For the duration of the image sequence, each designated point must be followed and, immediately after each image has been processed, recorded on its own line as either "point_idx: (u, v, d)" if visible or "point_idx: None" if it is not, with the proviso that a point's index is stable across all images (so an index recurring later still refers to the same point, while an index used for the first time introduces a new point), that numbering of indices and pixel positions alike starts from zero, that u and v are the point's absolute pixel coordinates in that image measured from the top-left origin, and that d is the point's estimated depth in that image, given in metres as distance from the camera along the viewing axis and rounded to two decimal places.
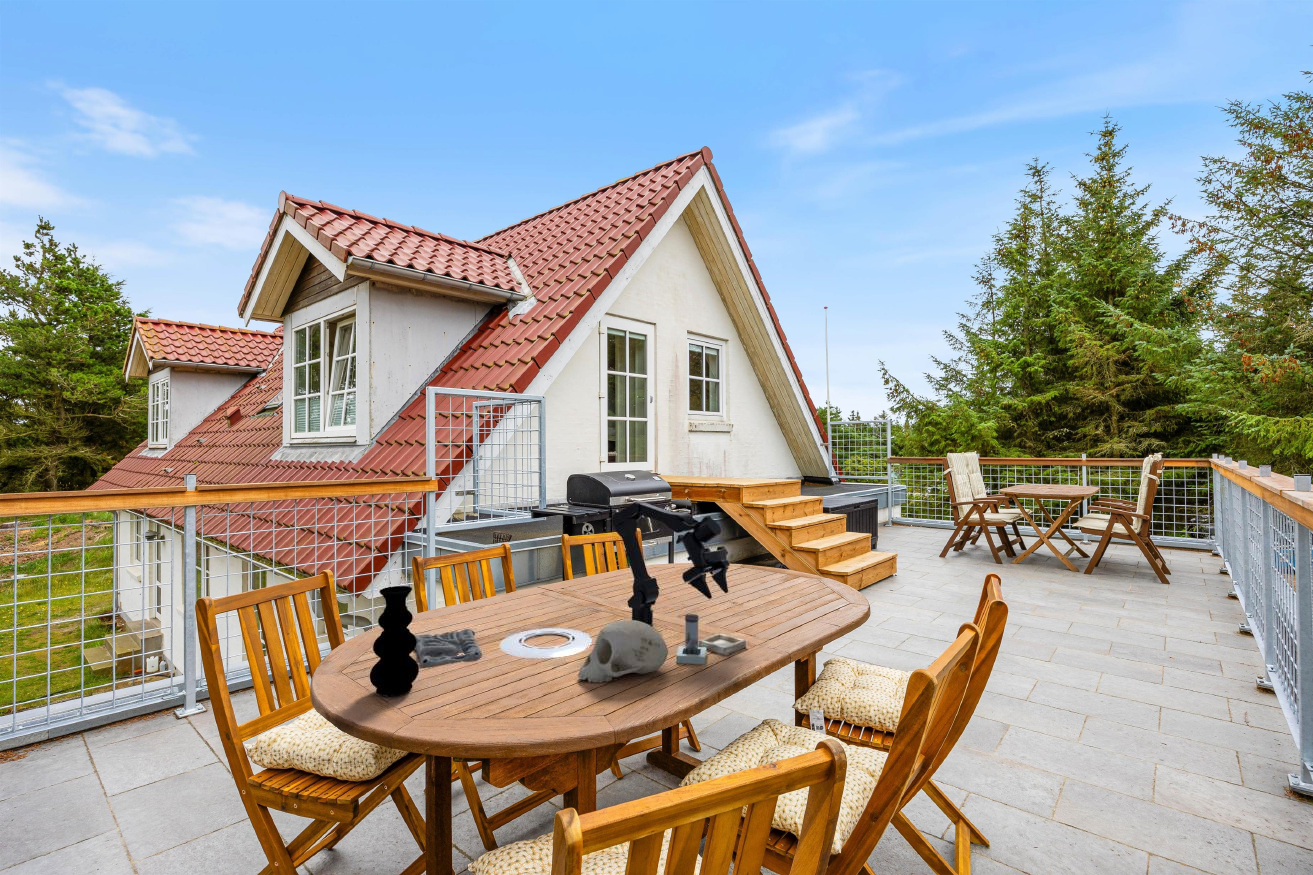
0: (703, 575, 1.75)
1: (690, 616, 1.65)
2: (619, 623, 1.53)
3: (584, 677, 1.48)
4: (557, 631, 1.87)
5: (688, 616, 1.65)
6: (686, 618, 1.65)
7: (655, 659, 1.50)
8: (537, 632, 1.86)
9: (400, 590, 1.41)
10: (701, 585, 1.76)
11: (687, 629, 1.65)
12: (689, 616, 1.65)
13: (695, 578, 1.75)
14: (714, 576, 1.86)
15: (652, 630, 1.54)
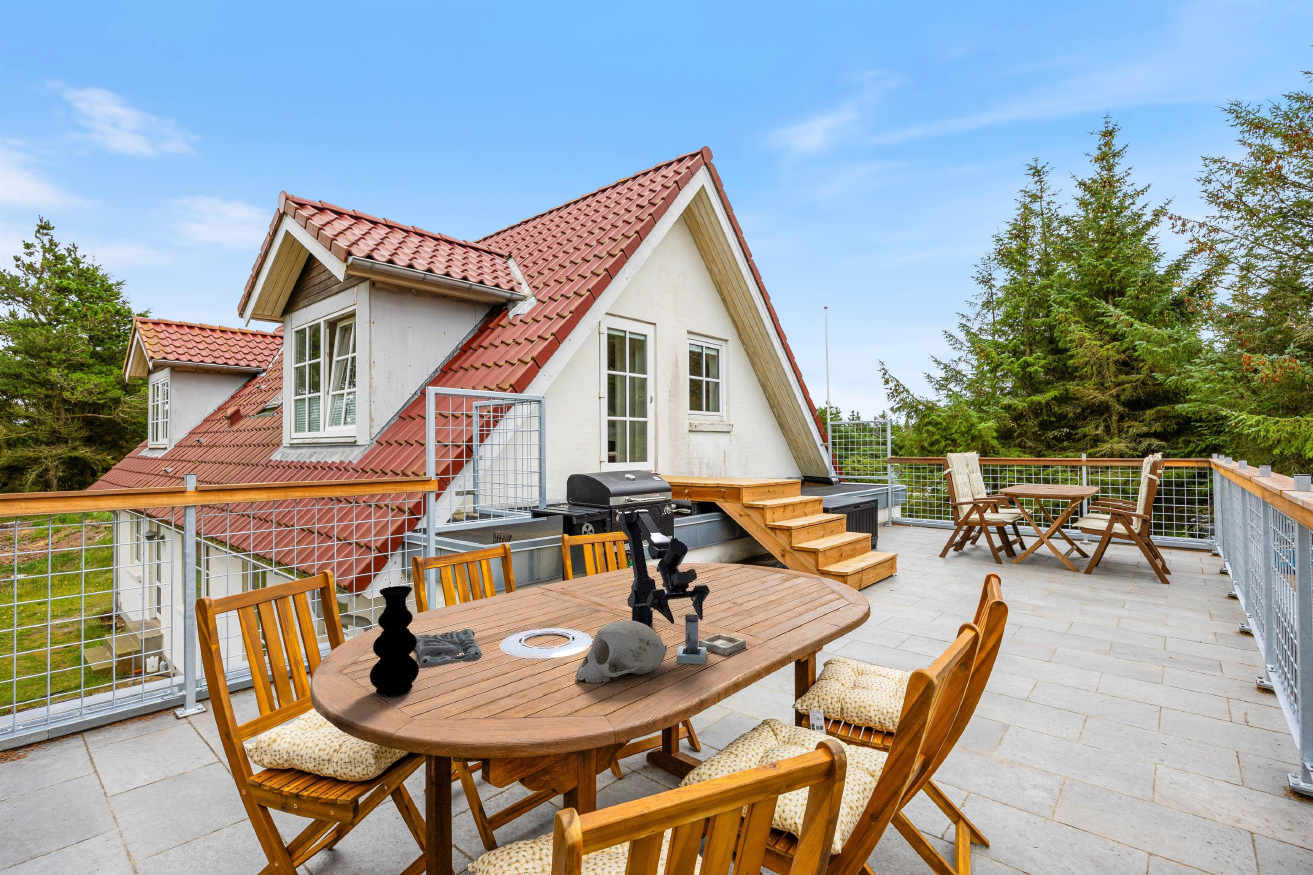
0: (663, 598, 1.68)
1: (690, 616, 1.65)
2: (617, 623, 1.53)
3: (582, 677, 1.48)
4: (557, 631, 1.87)
5: (688, 616, 1.65)
6: (686, 618, 1.65)
7: (653, 659, 1.50)
8: (537, 632, 1.86)
9: (400, 590, 1.41)
10: (664, 609, 1.69)
11: (687, 629, 1.65)
12: (689, 616, 1.65)
13: (656, 602, 1.69)
14: (693, 603, 1.75)
15: (650, 631, 1.54)
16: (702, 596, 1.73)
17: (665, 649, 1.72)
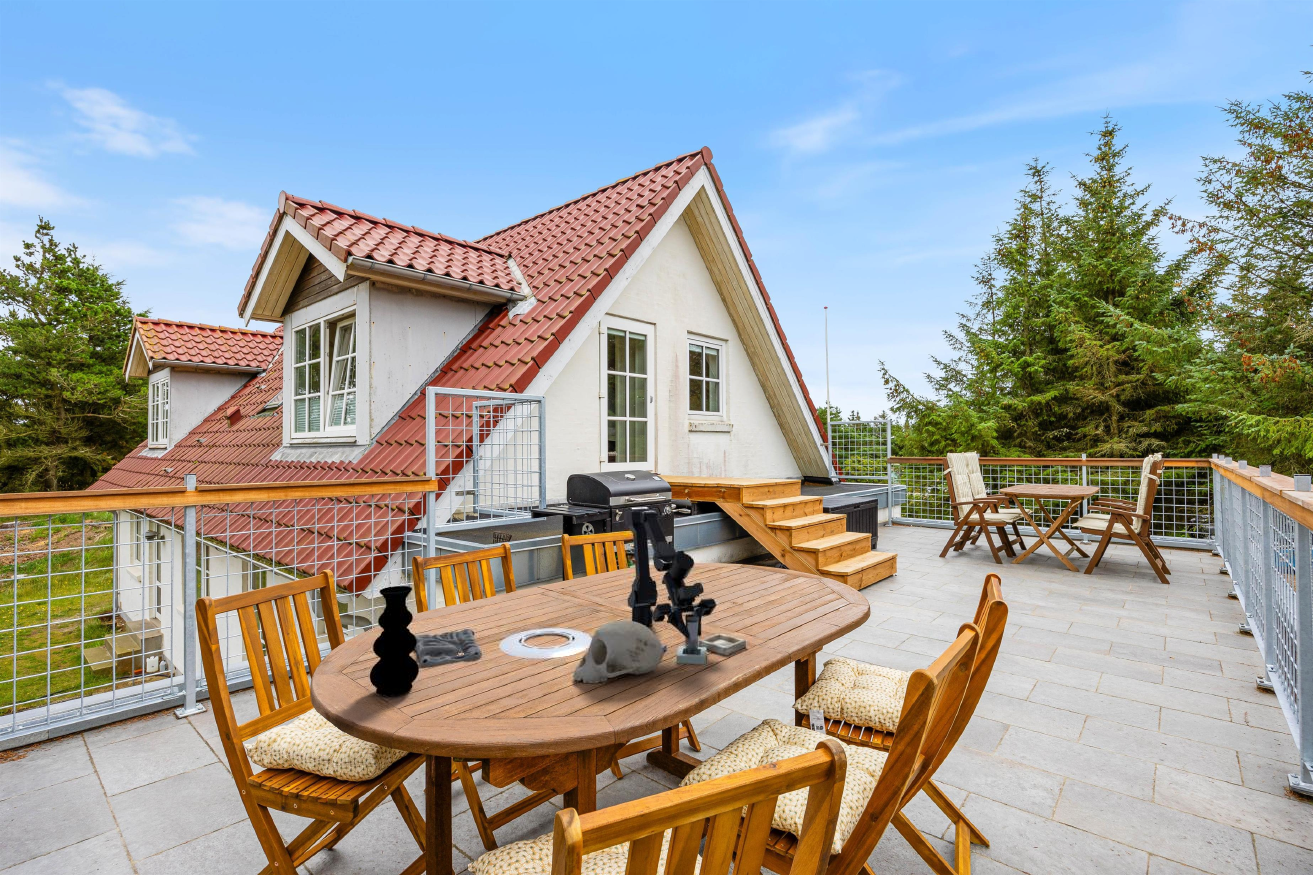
0: (677, 612, 1.65)
1: (690, 616, 1.65)
2: (614, 624, 1.52)
3: (579, 678, 1.48)
4: (557, 631, 1.87)
5: (688, 616, 1.65)
6: (686, 618, 1.65)
7: (650, 659, 1.49)
8: (537, 632, 1.86)
9: (400, 590, 1.41)
10: (678, 623, 1.66)
11: (687, 629, 1.65)
12: (689, 616, 1.65)
13: (670, 615, 1.66)
14: None
15: (647, 631, 1.54)
16: (701, 611, 1.69)
17: (665, 649, 1.72)
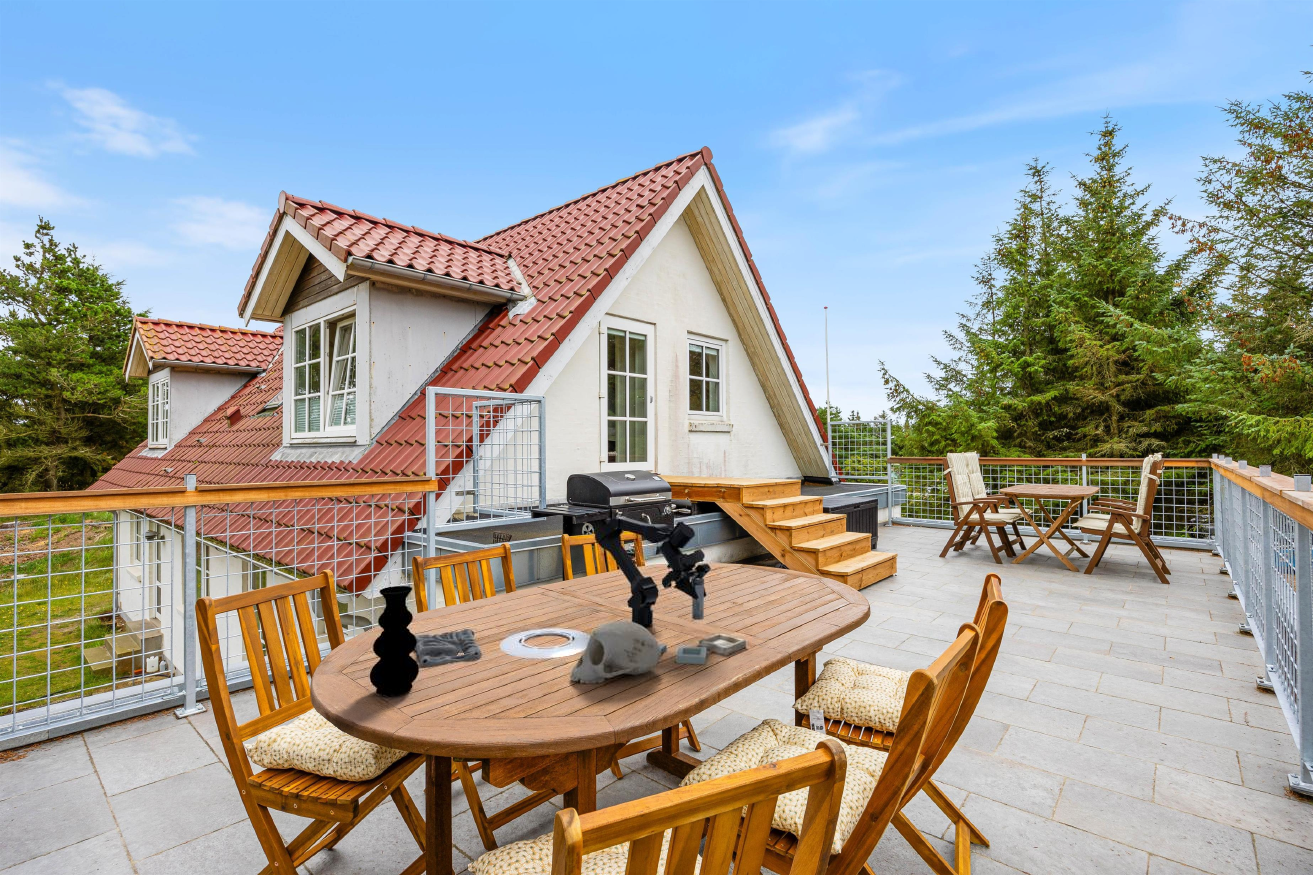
0: (686, 576, 1.80)
1: (697, 579, 1.82)
2: (612, 624, 1.52)
3: (576, 678, 1.47)
4: (557, 631, 1.87)
5: (696, 580, 1.81)
6: (695, 581, 1.81)
7: (648, 659, 1.49)
8: (537, 632, 1.86)
9: (400, 590, 1.41)
10: (686, 587, 1.81)
11: (696, 591, 1.80)
12: (697, 579, 1.81)
13: (679, 581, 1.80)
14: None
15: (645, 631, 1.53)
16: (702, 575, 1.86)
17: (665, 649, 1.72)
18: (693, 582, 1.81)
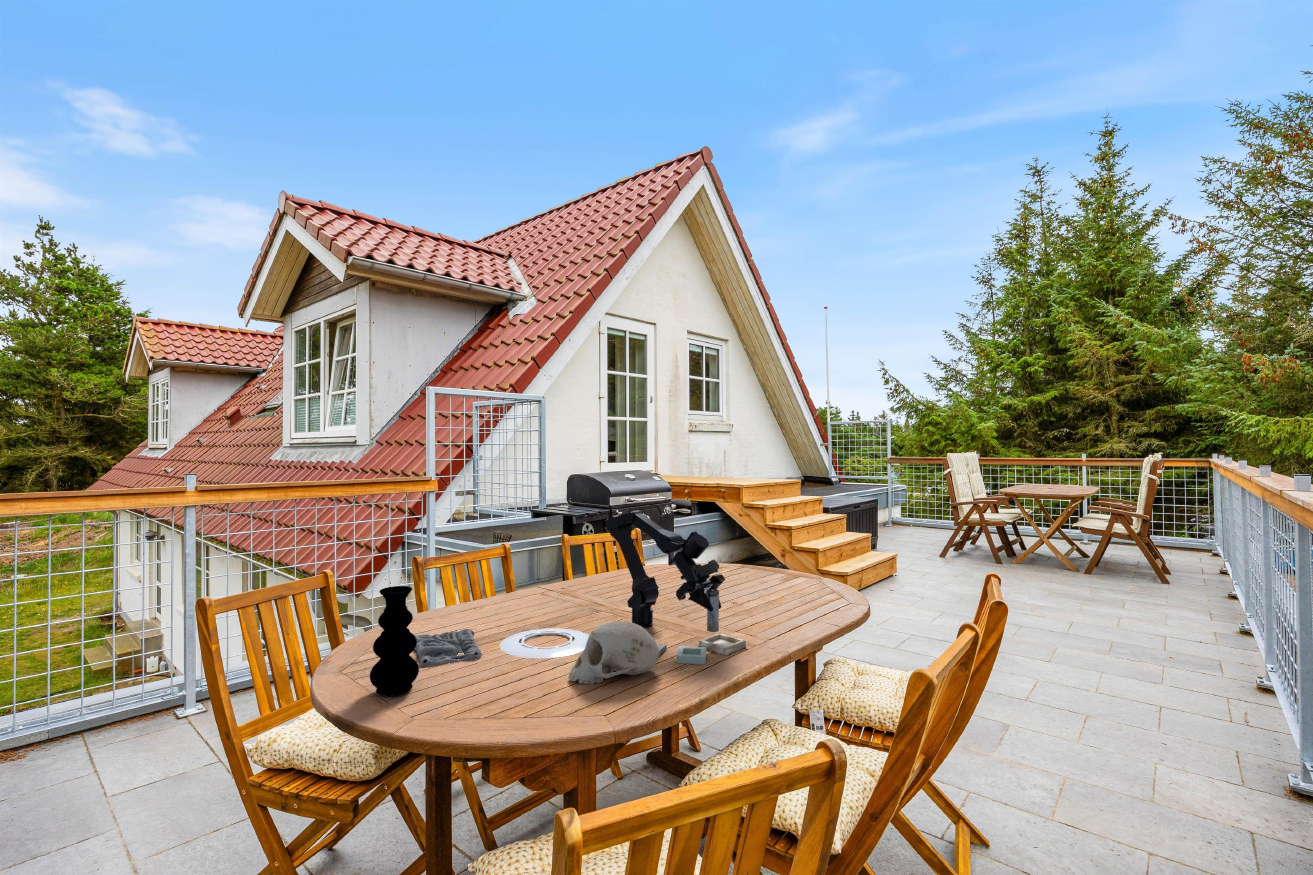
0: (701, 588, 1.76)
1: (712, 591, 1.78)
2: (610, 624, 1.52)
3: (575, 678, 1.47)
4: (557, 631, 1.87)
5: (710, 591, 1.77)
6: (709, 593, 1.77)
7: (646, 660, 1.49)
8: (537, 632, 1.86)
9: (400, 590, 1.41)
10: (701, 599, 1.77)
11: (711, 603, 1.77)
12: (711, 591, 1.77)
13: (694, 592, 1.76)
14: (706, 594, 1.83)
15: (643, 631, 1.53)
16: (716, 586, 1.82)
17: (665, 649, 1.72)
18: (708, 593, 1.77)
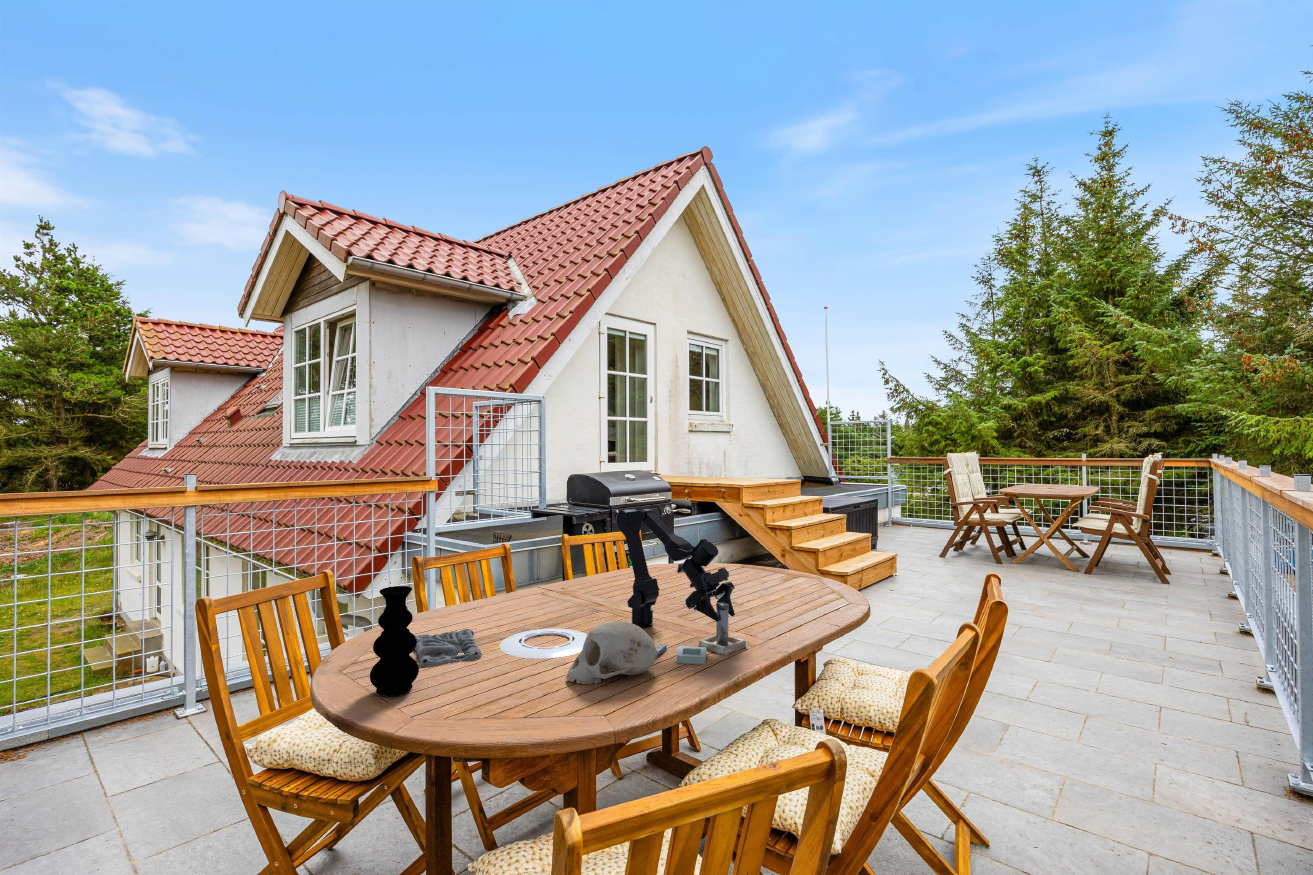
0: (707, 598, 1.72)
1: (721, 604, 1.75)
2: (608, 624, 1.52)
3: (572, 679, 1.47)
4: (557, 631, 1.87)
5: (720, 604, 1.75)
6: (719, 606, 1.74)
7: (644, 660, 1.49)
8: (537, 632, 1.86)
9: (400, 590, 1.41)
10: (707, 609, 1.73)
11: (720, 617, 1.74)
12: (721, 604, 1.75)
13: (699, 602, 1.72)
14: (719, 601, 1.82)
15: (641, 632, 1.53)
16: (729, 593, 1.81)
17: (665, 649, 1.72)
18: (717, 607, 1.75)
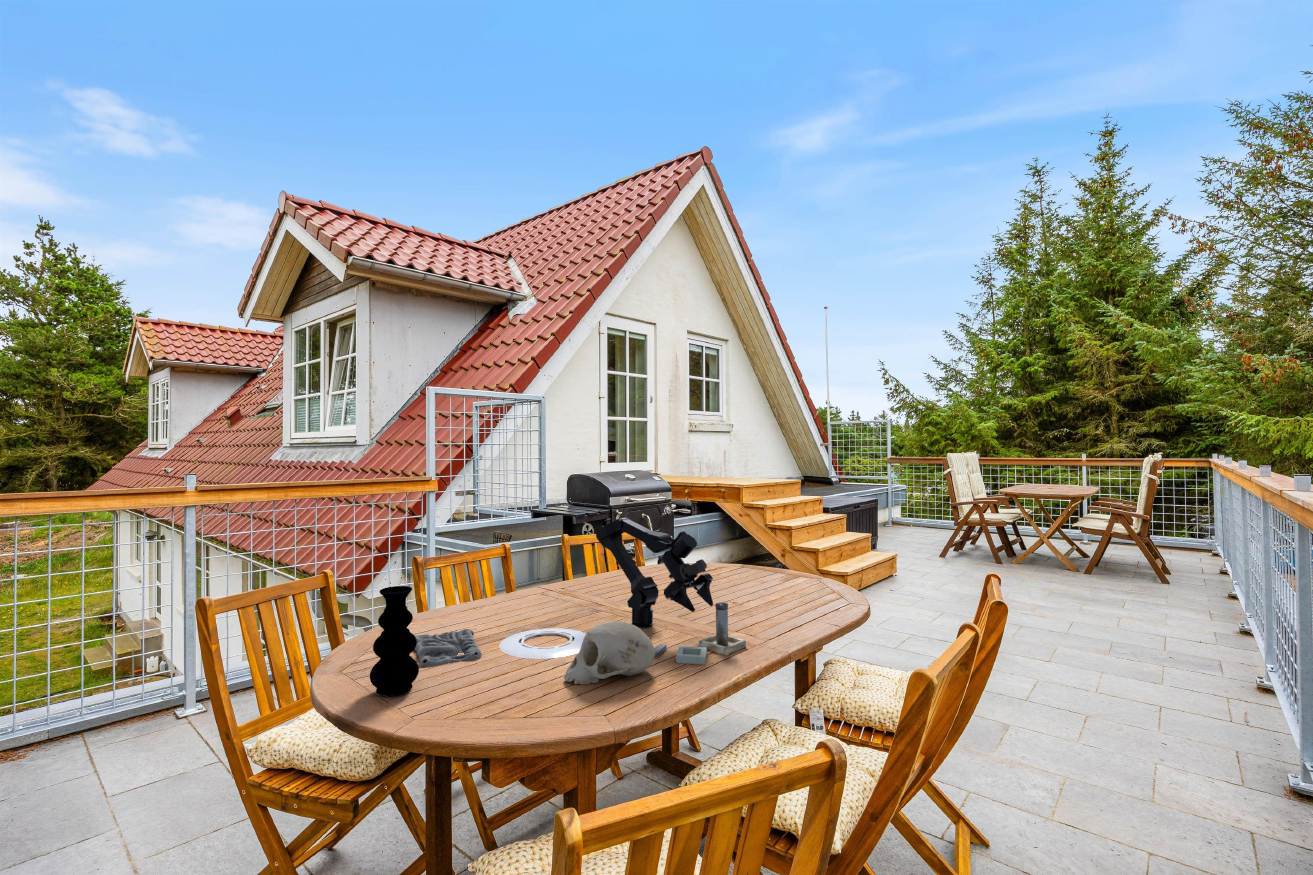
0: (683, 588, 1.78)
1: (721, 604, 1.75)
2: (606, 624, 1.52)
3: (570, 679, 1.47)
4: (557, 631, 1.87)
5: (719, 604, 1.75)
6: (718, 607, 1.74)
7: (642, 660, 1.49)
8: (537, 632, 1.86)
9: (400, 590, 1.41)
10: (683, 599, 1.79)
11: (720, 617, 1.74)
12: (720, 604, 1.75)
13: (676, 593, 1.78)
14: (699, 591, 1.88)
15: (639, 632, 1.53)
16: (709, 584, 1.87)
17: (665, 649, 1.72)
18: (717, 607, 1.75)
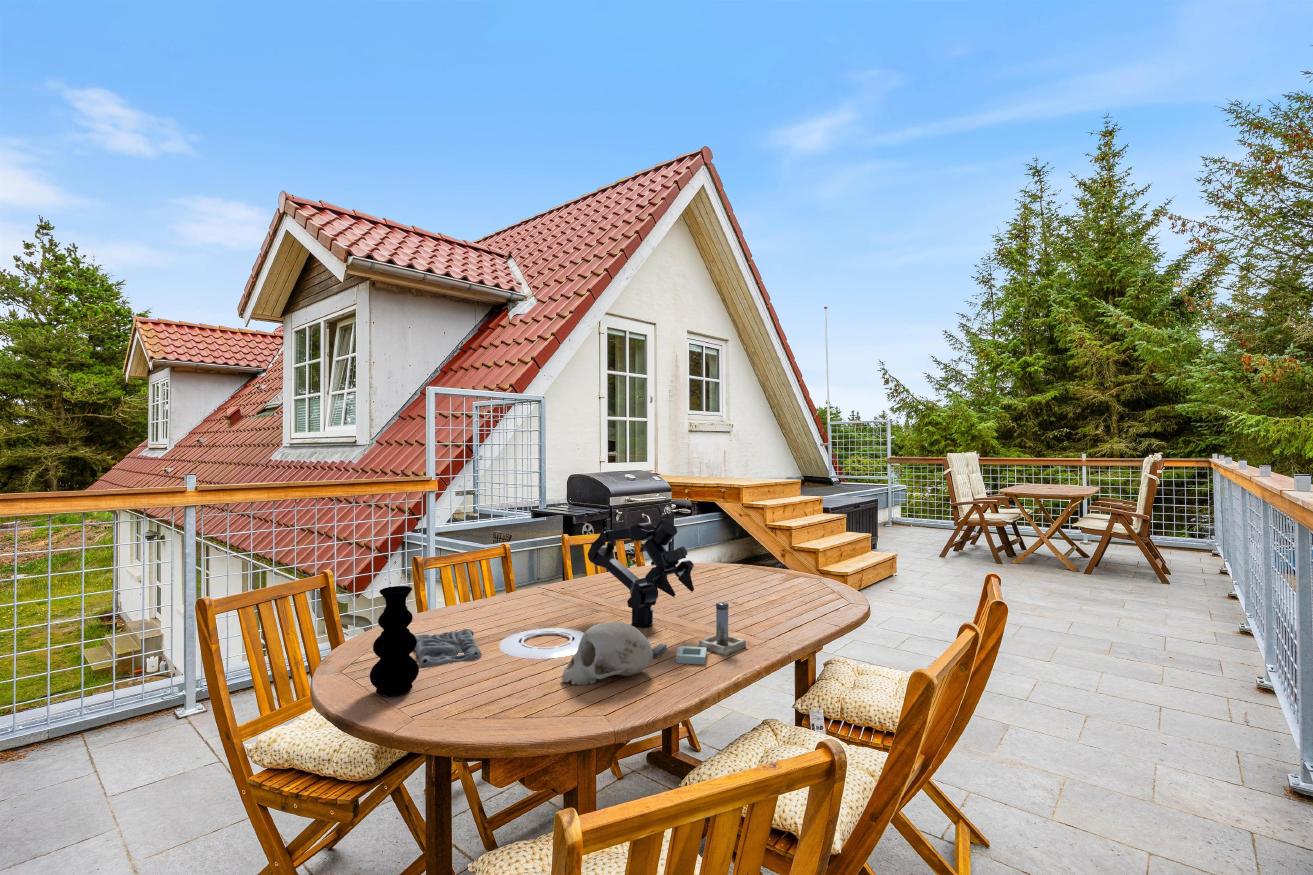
0: (663, 574, 1.83)
1: (721, 604, 1.75)
2: (603, 625, 1.51)
3: (567, 679, 1.46)
4: (557, 631, 1.87)
5: (720, 604, 1.75)
6: (719, 606, 1.74)
7: (639, 661, 1.48)
8: (537, 632, 1.86)
9: (400, 590, 1.41)
10: (664, 585, 1.83)
11: (720, 616, 1.74)
12: (721, 604, 1.75)
13: (656, 578, 1.83)
14: (680, 578, 1.93)
15: (637, 632, 1.53)
16: (690, 570, 1.92)
17: (665, 649, 1.72)
18: (717, 607, 1.75)
